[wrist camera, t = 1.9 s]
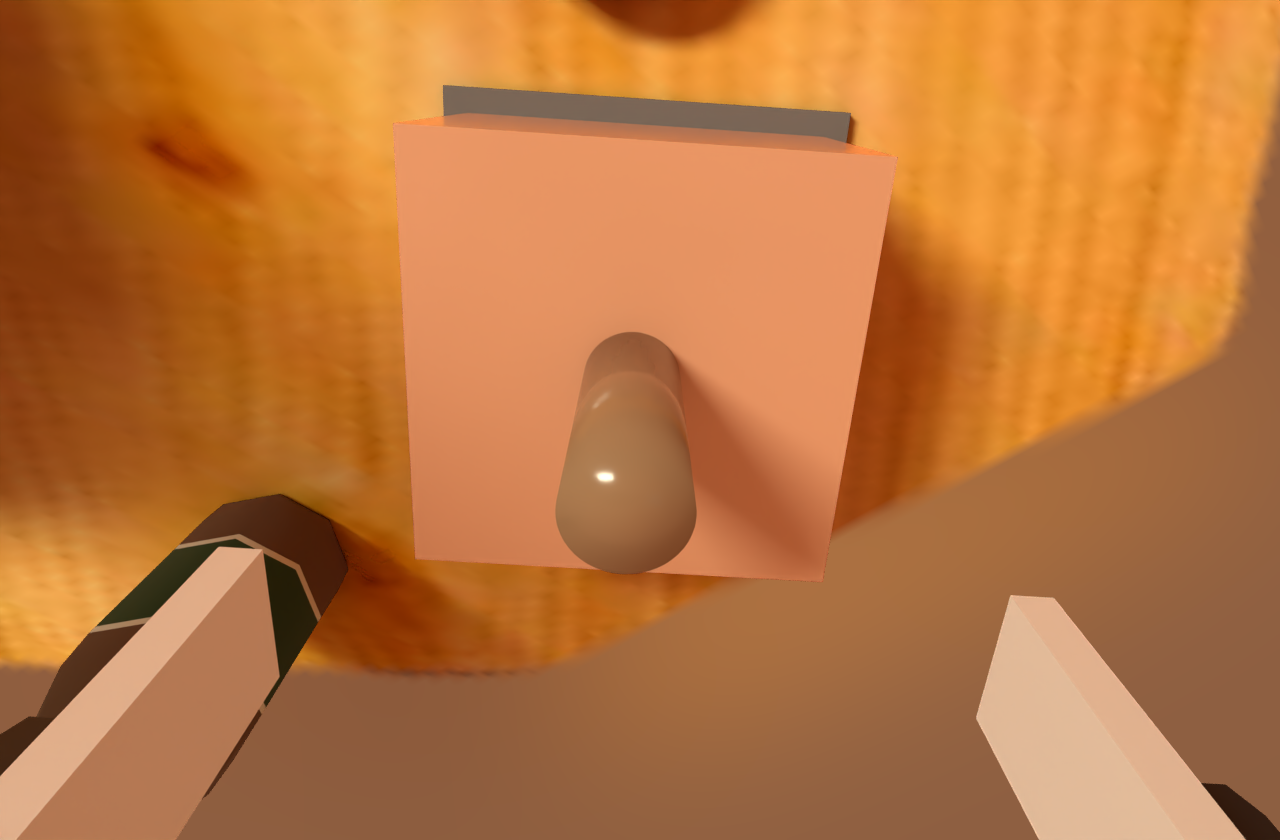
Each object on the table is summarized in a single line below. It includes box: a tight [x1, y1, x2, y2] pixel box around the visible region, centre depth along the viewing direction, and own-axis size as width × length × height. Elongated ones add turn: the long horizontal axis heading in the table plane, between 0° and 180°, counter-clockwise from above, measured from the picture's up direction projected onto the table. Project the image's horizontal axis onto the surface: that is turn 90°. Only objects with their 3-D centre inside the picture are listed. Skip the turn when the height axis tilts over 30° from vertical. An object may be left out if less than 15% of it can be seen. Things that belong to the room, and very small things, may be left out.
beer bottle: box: [36, 494, 348, 799], centre depth 31 cm, size 8×8×24 cm
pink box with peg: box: [393, 113, 898, 582], centre depth 27 cm, size 15×15×20 cm
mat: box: [443, 85, 851, 143], centre depth 37 cm, size 17×17×1 cm
